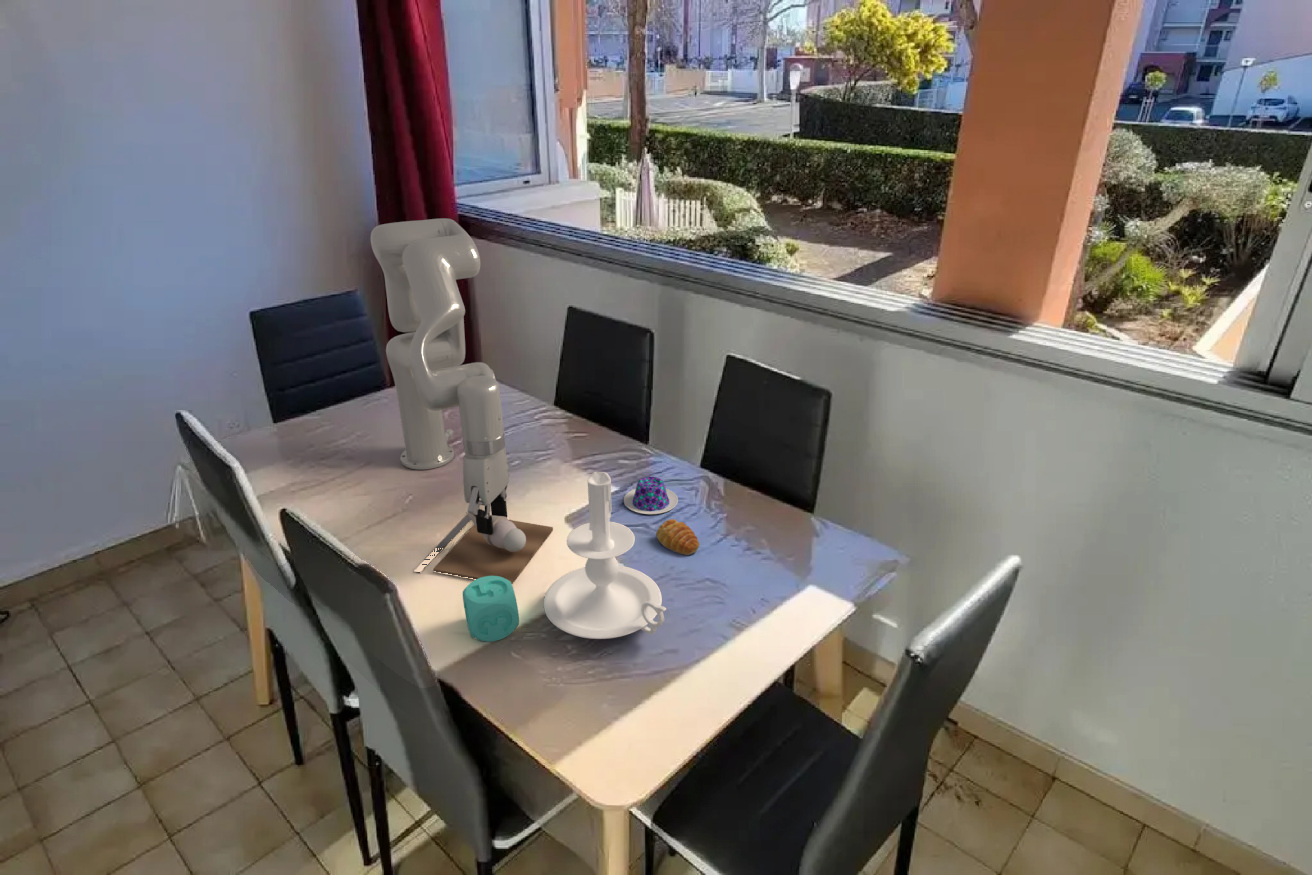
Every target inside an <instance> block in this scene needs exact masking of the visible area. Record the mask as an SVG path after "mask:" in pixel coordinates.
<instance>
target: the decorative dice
mask: <svg viewBox="0 0 1312 875" xmlns="http://www.w3.org/2000/svg"><path fill="white" fill-rule="evenodd" d="M462 600H463V610H464V615H465V619H466V620H465V621H466V624H467V628H468V632H469V633H468V634H469V635H470V637H472V638H473V639H475V640H478V641H481V642H489V643H490V642H491V643H492V642H498V641H500V640H503V639H505V638H506V637H508V636H510V635H511V634H512V633H513V632H514V631H515V630H516V629H517V628H518V626H519V623H520V619H519V618H520V616H519V609H518V608H519V607H518V603H517V598H516V593H515V590H514V586H513V584H511V582H510V581H509V580H507V579H505V578H503V577H499V576H485V577H481V578H478V579H476V580H472V581H471V582H469V584H468V585H467V586H466V587H465V588H464V589H463V591H462Z"/></svg>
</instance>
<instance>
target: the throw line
mask: <svg viewBox="0 0 1312 875" xmlns="http://www.w3.org/2000/svg"><path fill="white" fill-rule="evenodd" d="M470 521H472V520H471V519H470V518H469V516H468V515H467V514H466V515H465V516H464V518H462V520H461V521H459V523H458V524H457V525H456V526H454V528H453V529H452V530H451V531H450V532H449V533H448V534H447V535H446V536H445V537H444V538H443V539H442V540H441V541H440V542H439V543H438V544H437V545H436V546H435V548H437V551H436V552H440V551H441V550H442V548H444V547H445V546H446V545H447V544H448V543H449V542H450V541H452V540H453V539H455V537H456V536H458V534H459V533H460V532H461V531H462V530H463V529H464V528H465V527H466V526H467V525H466V524H467V523H468V522H469V523H470ZM469 523H468V524H469ZM464 526H465V527H464ZM463 527H464V528H463ZM462 528H463V529H462ZM460 530H461V531H460ZM451 539H452V540H451ZM450 543H451V542H450ZM450 543H449V544H450ZM449 544H448V545H449ZM448 545H447V546H448ZM447 546H446V547H447ZM446 547H445V548H446ZM435 548H433V550H434V552H435ZM438 548H439V550H438ZM440 548H441V549H440ZM445 548H444V549H445ZM433 550H431V552H433ZM442 551H443V550H442ZM442 551H441V552H442ZM441 552H440V553H441ZM427 556H429V554H428V555H427ZM430 556H431V555H430ZM432 556H433V555H432ZM434 556H435V554H434ZM423 560H430V559H425V558H424V559H423ZM422 565H427V564H422Z"/></svg>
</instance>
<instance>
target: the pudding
mask: <svg viewBox="0 0 1312 875" xmlns="http://www.w3.org/2000/svg"><path fill="white" fill-rule="evenodd" d="M623 503H624V505H625V507H626V508H627V509H629V510H631V511H632V512H636V513H638V514H645V515H657V514H659V515H660V514H663V513H667V512H669V511H671V510H673V509H674V508H675V507H676V506H677V504H678V503H679V498H678V496H677V494H676V493H675V492H674V491H672V490H670V489H669V488H667V487H666V484H665V482H664V481H663V479H661V478H659V477H657V476H644V477H643V478H640V479H639V480H638V482H637V484H636V487H635V488H633V489H632V490H629V491H628V492H626V494H625V495H624V497H623Z"/></svg>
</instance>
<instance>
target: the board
mask: <svg viewBox="0 0 1312 875" xmlns="http://www.w3.org/2000/svg"><path fill="white" fill-rule="evenodd" d="M508 520H509V521H511V522H512V523H514V525H515V526H516V528H517V529H520V530H521V531H522V532H523V533H524V534H525V536H526V543H525V546H524V547H523V548H522V549H521V550H520V551H517V552H510V551H508V550H507V549H505V548H498V547H496V546H494V545H490V544H488V542H487V541H486V540H485V538H484V537H483V536H482V534H481V533H478V532H477V527H476V526H475V525H474V524H473V526H471V527H470V528H469V530H468V531H467V532H466V533H465V534H464V535H463V536H462V537H461V538H460V540H459V541H458V542H456V544H455V545H454V546H453V547H452V548H451V549H450V550H448V552H447V554H446V555H444V556H443V557H442V558H441V560H440V561H438V563H437V564H436V565H435V566H434V567H433V568H432V571H436V572H441V573H448V574H452V575H458V576H461V577H468V578H473V579H478V578H481V577H485V576H499V577H503V578H505V579H507V580H509V581H510V582H511V584H512V585H513V584H514V583H515V581H516V580H517V579H518V577H519V576H520V575H521V574H522V572H523V571H524V570H525V569H526V567H527V566H528V564H529V563H530V562H531V560H532V559H533V558H534V557H535V555H536V554H537V552H538V551H539V550H540V548H541V547H542V546H543V544H544V543H545V542H546V540H547V539H548V538H549V537H550V535H551V534H552V533H553V530H554V527H553V526H548V525H541V524H537V523H531V522H530V523H529V522H524V521H518V520H512V519H508ZM513 582H514V583H513Z"/></svg>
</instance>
